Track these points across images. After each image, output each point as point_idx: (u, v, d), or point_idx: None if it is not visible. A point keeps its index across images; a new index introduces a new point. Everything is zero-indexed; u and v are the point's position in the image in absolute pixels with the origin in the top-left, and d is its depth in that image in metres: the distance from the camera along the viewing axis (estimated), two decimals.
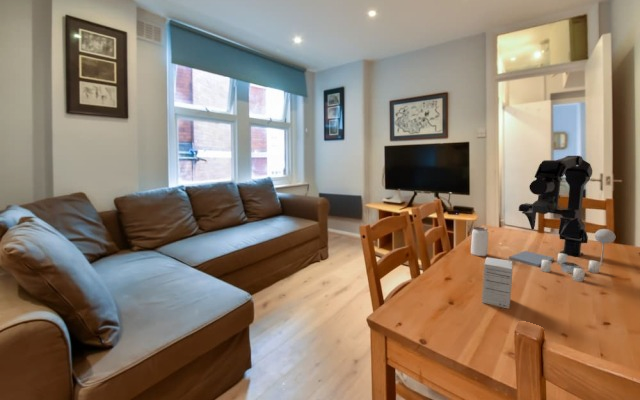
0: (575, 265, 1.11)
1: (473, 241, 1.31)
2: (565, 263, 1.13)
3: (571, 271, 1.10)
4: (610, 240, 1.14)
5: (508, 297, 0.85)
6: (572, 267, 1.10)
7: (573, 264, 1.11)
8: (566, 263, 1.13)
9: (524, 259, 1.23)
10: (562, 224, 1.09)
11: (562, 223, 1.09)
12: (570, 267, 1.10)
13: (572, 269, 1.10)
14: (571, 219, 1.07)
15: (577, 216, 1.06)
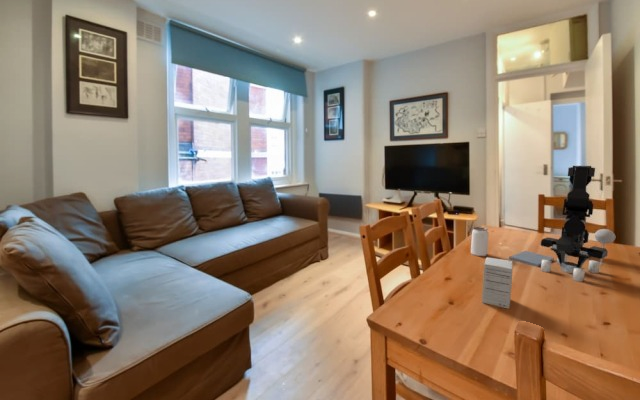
0: (575, 264, 1.11)
1: (473, 241, 1.31)
2: (565, 263, 1.13)
3: (571, 271, 1.10)
4: (610, 240, 1.14)
5: (508, 297, 0.85)
6: (572, 267, 1.10)
7: (573, 264, 1.11)
8: (566, 263, 1.13)
9: (524, 259, 1.23)
10: (580, 261, 1.08)
11: (580, 260, 1.08)
12: (570, 267, 1.10)
13: (572, 269, 1.10)
14: None
15: (604, 256, 1.03)
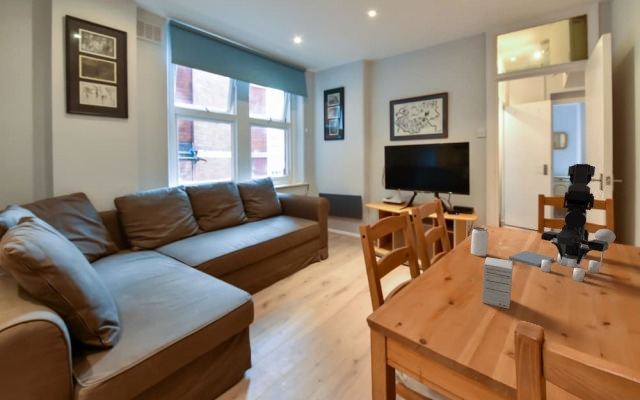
0: (576, 258, 1.10)
1: (473, 241, 1.31)
2: (566, 256, 1.12)
3: (572, 264, 1.10)
4: (610, 240, 1.14)
5: (508, 297, 0.85)
6: (573, 260, 1.09)
7: (574, 257, 1.11)
8: (567, 256, 1.12)
9: (524, 259, 1.23)
10: (581, 254, 1.08)
11: (581, 253, 1.08)
12: (571, 261, 1.10)
13: (573, 262, 1.10)
14: (590, 250, 1.05)
15: (605, 249, 1.02)
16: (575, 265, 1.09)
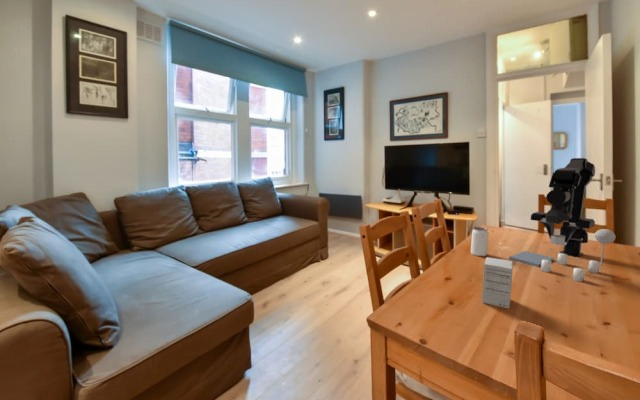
0: (564, 236, 1.14)
1: (473, 241, 1.31)
2: (554, 235, 1.15)
3: (560, 242, 1.13)
4: (610, 240, 1.14)
5: (508, 297, 0.85)
6: (561, 238, 1.13)
7: (562, 236, 1.14)
8: (555, 235, 1.15)
9: (524, 259, 1.23)
10: (569, 232, 1.11)
11: (568, 231, 1.11)
12: (559, 239, 1.13)
13: (561, 240, 1.13)
14: (578, 228, 1.08)
15: (591, 226, 1.06)
16: (563, 243, 1.13)
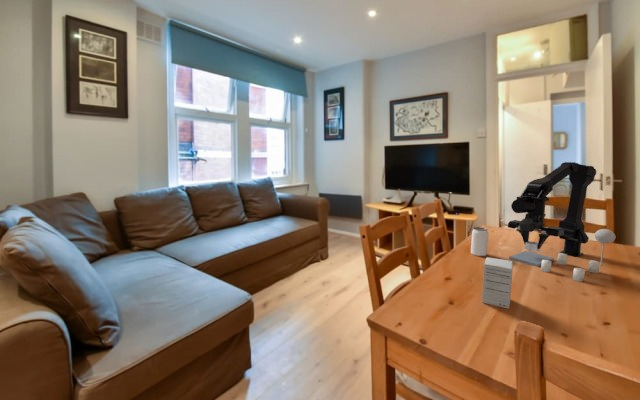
0: (537, 243, 1.23)
1: (473, 241, 1.31)
2: (528, 242, 1.25)
3: (533, 249, 1.22)
4: (610, 240, 1.14)
5: (508, 297, 0.85)
6: (534, 245, 1.22)
7: (535, 243, 1.24)
8: (529, 242, 1.25)
9: (524, 259, 1.23)
10: (541, 240, 1.20)
11: (540, 239, 1.20)
12: (532, 245, 1.23)
13: (534, 247, 1.22)
14: (548, 235, 1.18)
15: (560, 234, 1.15)
16: (536, 249, 1.22)
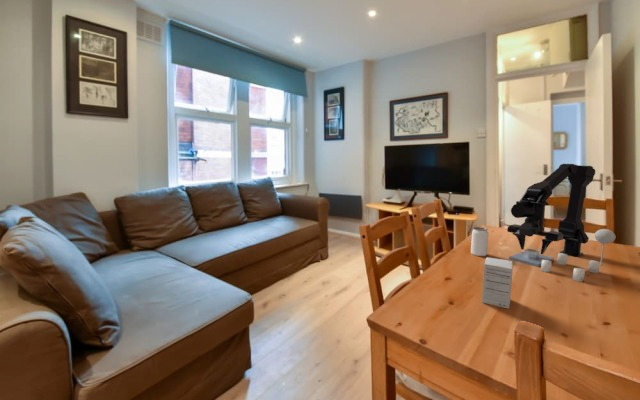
0: (536, 251, 1.24)
1: (473, 241, 1.31)
2: (527, 250, 1.25)
3: (532, 256, 1.23)
4: (610, 240, 1.14)
5: (508, 297, 0.85)
6: (533, 253, 1.23)
7: (534, 250, 1.24)
8: (528, 250, 1.25)
9: (524, 259, 1.23)
10: (544, 245, 1.20)
11: (543, 244, 1.20)
12: (531, 253, 1.23)
13: (533, 255, 1.23)
14: (551, 241, 1.17)
15: (559, 239, 1.15)
16: (535, 257, 1.23)
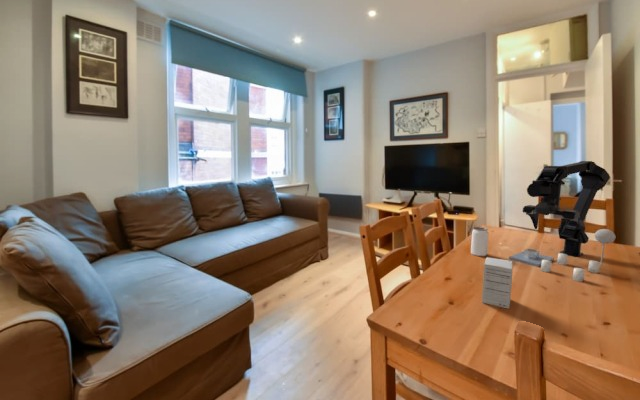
0: (536, 251, 1.24)
1: (473, 241, 1.31)
2: (527, 250, 1.25)
3: (532, 256, 1.23)
4: (610, 240, 1.14)
5: (508, 297, 0.85)
6: (533, 253, 1.23)
7: (534, 250, 1.24)
8: (528, 250, 1.25)
9: (524, 259, 1.23)
10: (563, 224, 1.20)
11: (562, 223, 1.20)
12: (531, 253, 1.23)
13: (533, 255, 1.23)
14: (571, 219, 1.17)
15: (576, 217, 1.16)
16: (535, 257, 1.23)
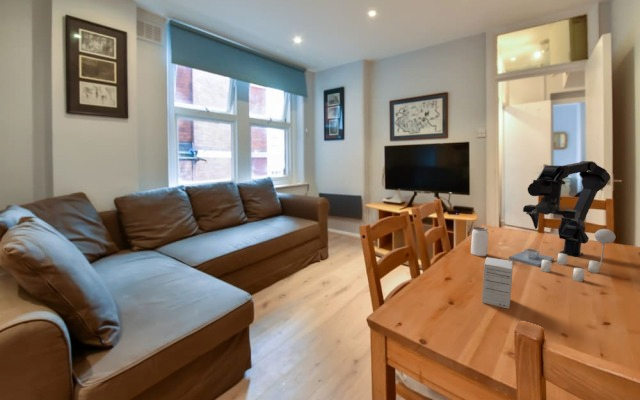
0: (536, 251, 1.24)
1: (473, 241, 1.31)
2: (527, 250, 1.25)
3: (532, 256, 1.23)
4: (610, 240, 1.14)
5: (508, 297, 0.85)
6: (533, 253, 1.23)
7: (534, 250, 1.24)
8: (528, 250, 1.25)
9: (524, 259, 1.23)
10: (563, 224, 1.20)
11: (563, 223, 1.20)
12: (531, 253, 1.23)
13: (533, 255, 1.23)
14: (571, 219, 1.17)
15: (577, 216, 1.16)
16: (535, 257, 1.23)
